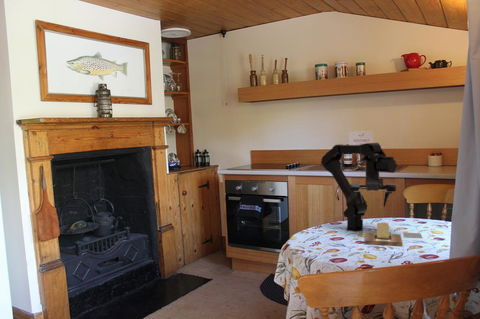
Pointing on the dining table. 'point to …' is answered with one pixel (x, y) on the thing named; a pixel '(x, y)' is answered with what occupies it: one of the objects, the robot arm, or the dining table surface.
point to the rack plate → (372, 240)
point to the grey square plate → (412, 235)
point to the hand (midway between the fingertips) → (372, 206)
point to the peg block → (383, 231)
